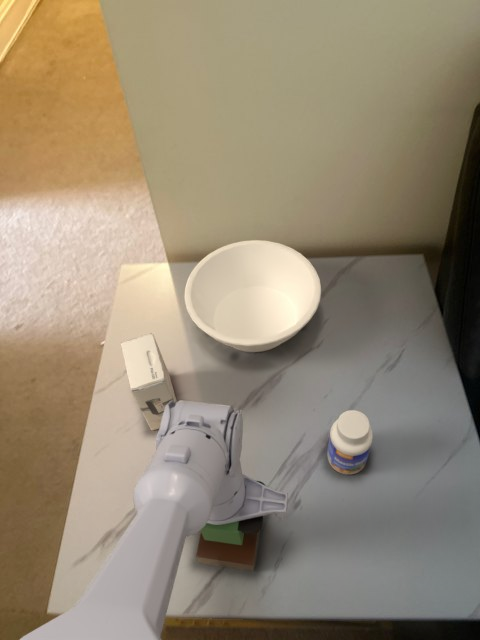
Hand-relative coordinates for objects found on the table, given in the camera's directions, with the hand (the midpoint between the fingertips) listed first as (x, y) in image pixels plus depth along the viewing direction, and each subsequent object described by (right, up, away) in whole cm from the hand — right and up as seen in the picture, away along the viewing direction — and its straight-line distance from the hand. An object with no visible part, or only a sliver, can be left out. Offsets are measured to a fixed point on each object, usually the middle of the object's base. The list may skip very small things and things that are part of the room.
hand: (226, 521), depth 66 cm
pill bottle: (+16, +5, +11) cm, 20 cm away
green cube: (0, 0, +1) cm, 1 cm away
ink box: (-10, +11, +18) cm, 24 cm away
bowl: (+4, +24, +27) cm, 36 cm away
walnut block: (0, -4, +6) cm, 7 cm away
